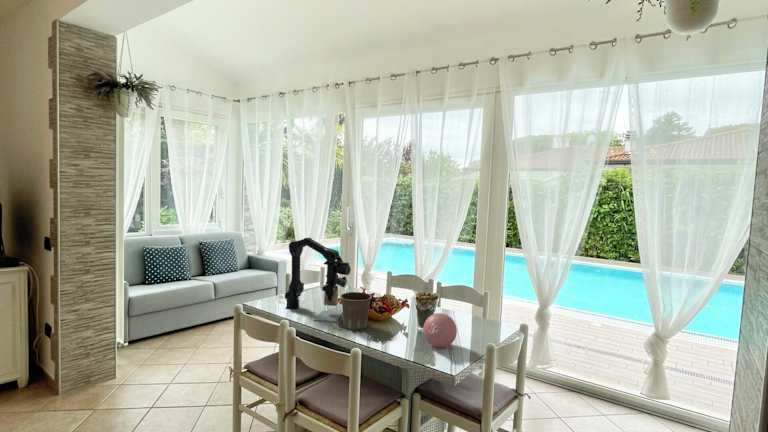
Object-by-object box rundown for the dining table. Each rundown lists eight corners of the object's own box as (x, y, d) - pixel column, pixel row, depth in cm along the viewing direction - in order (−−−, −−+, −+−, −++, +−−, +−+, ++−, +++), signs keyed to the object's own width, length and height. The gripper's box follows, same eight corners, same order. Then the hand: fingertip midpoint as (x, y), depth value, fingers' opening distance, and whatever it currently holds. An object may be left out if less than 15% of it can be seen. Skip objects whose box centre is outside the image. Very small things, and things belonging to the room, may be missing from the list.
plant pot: (366, 333, 201) (367, 301, 201) (335, 329, 205) (336, 298, 204) (373, 323, 217) (374, 293, 216) (344, 320, 221) (345, 291, 220)
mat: (314, 320, 217) (314, 319, 217) (322, 311, 235) (322, 310, 235) (336, 322, 216) (336, 321, 216) (342, 312, 234) (342, 311, 234)
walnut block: (323, 305, 228) (324, 289, 227) (325, 303, 232) (326, 287, 231) (336, 305, 227) (336, 290, 226) (337, 304, 231) (338, 288, 230)
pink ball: (413, 351, 180) (414, 317, 180) (429, 338, 198) (430, 307, 197) (446, 359, 173) (448, 324, 173) (460, 344, 191) (461, 312, 190)
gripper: (342, 277, 218) (341, 305, 219) (349, 270, 237) (348, 297, 238) (322, 275, 219) (321, 304, 220) (330, 269, 238) (329, 295, 239)
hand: (331, 300), depth 229 cm, fingers closed on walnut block, 4 cm apart
